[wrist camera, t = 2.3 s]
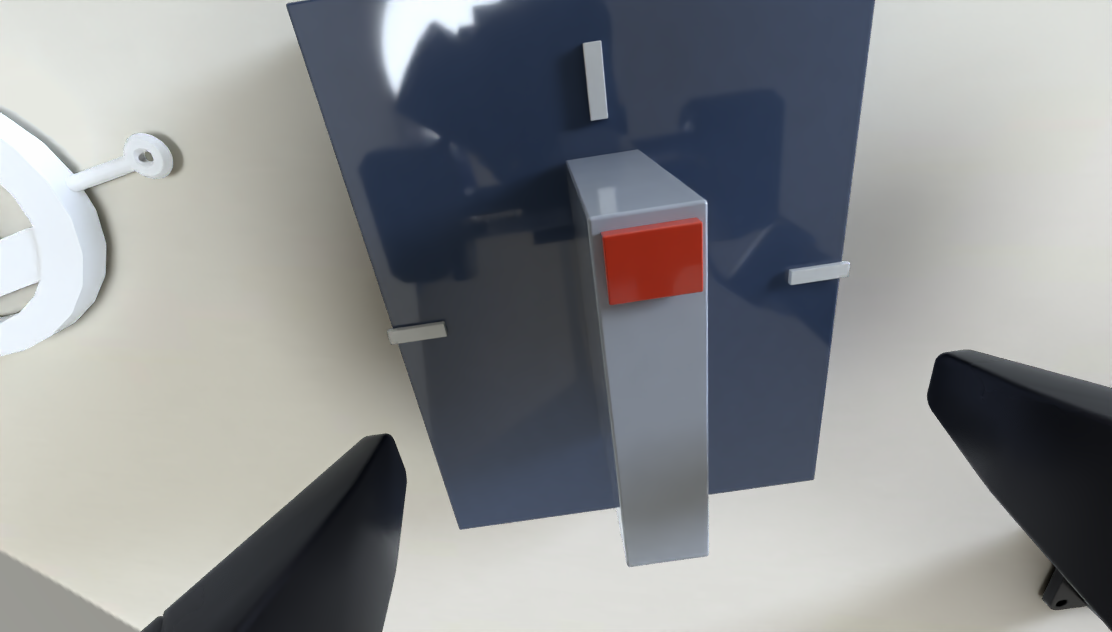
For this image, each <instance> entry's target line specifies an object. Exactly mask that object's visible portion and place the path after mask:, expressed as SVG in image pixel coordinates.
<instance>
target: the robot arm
mask: <svg viewBox="0 0 1112 632" xmlns="http://www.w3.org/2000/svg"><path fill="white" fill-rule="evenodd" d="M927 400H928V404H929V406H930V408H931V410H932V412H933V413H934V414H935V416H936V417H937V419H938V420H939V421H940V423H941V424H942V426H943V427H944V428H945V430H946V431H947V433H948V434H949V435H950V437H951V438H952V440H953V441H954V442H955V444H956V445H957V447H958V448H959V449H960V451H961V452H962V453H963V455H964V456H965V458H966V459H967V460H968V462H969V463H970V465H971V466H972V467H973V469H974V470H975V472H976V473H977V474H978V476H979V477H980V478H981V480H982V481H983V482H984V484H985V485H986V486H987V488H988V489H989V490H990V492H991V493H992V494H993V495H994V496H995V498H996V499H997V500H998V501H999V502H1000V504H1001V505H1002V506H1003V507H1004V508H1005V509H1006V511H1007V512H1008V513H1009V514H1010V515H1011V516H1012V517H1013V519H1014V520H1015V521H1016V522H1017V523H1018V524H1019V526H1020V527H1021V528H1022V529H1023V530H1024V531H1025V532H1026V534H1027V535H1028V536H1029V537H1030V538H1031V539H1032V540H1033V542H1034V543H1035V544H1036V545H1037V546H1038V547H1039V549H1040V550H1041V551H1042V552H1043V553H1044V554H1045V555H1046V557H1047V558H1048V559H1049V560H1050V561H1051V562H1052V564H1053V565H1054V566H1055V567H1056V569H1055V571H1054V573H1053V575H1052V577H1051V579H1050V582H1049V584H1048V586H1047V588H1046V590H1045V592H1044V594H1043V596H1042V600H1043V601H1044V602H1045V603H1046V604H1047V605H1048V606H1049V607H1050V608H1051V609H1053V610H1061V609H1069V608H1076V607H1083V606H1088V607H1089V608H1090V609H1091V610H1092V611H1093V612H1094V613H1095V614H1096V615H1097V616H1098V617H1099V618H1100V619H1101V620H1102V621H1103V622H1104V623H1105V625H1106V626H1107V627H1108V628H1109V629H1110V630H1111V631H1112V388H1110V387H1106V386H1103V385H1099V384H1095V383H1092V382H1088V381H1084V380H1081V379H1077V378H1073V377H1070V376H1066V375H1062V374H1058V373H1055V372H1051V371H1047V370H1044V369H1040V368H1036V367H1033V366H1029V365H1025V364H1022V363H1018V362H1014V361H1010V360H1007V359H1003V358H999V357H996V356H992V355H988V354H985V353H981V352H977V351H973V350H958V351H951V352H945V353H942V354H940V355H939V356H938V357H937V358H936V360H935V363H934V367H933V372H932V376H931V380H930V384H929V388H928V393H927ZM406 484H407V478H406V471H405V468H404V465H403V462H402V460H401V457H400V454H399V452H398V449H397V446H396V444H395V441H394V439H393V437H392V436H391V435H389V434H386V433H385V434H378V435H371V436H366V437H364V438H363V439H361V440H360V441H359V442H358V443H357V444H356V445H354V446H353V447H352V448H351V449H350V450H349V451H348V452H346V453H345V454H344V455H343V456H342V457H341V458H340V459H338V460H337V461H336V462H335V463H334V464H333V465H332V466H330V467H329V468H328V469H327V470H326V471H325V472H323V473H322V474H321V475H320V476H319V477H318V478H317V479H315V480H314V481H313V482H312V483H311V484H310V485H309V486H307V487H306V488H305V489H304V490H303V491H302V492H301V493H299V494H298V495H297V496H296V497H295V498H294V499H293V500H291V501H290V502H289V503H288V504H287V505H286V506H285V507H283V508H282V509H281V510H280V511H279V512H278V513H276V514H275V515H274V516H273V517H272V518H271V519H270V520H268V521H267V522H266V523H265V524H264V525H263V526H262V527H260V528H259V529H258V530H257V531H256V532H255V533H254V534H252V535H251V536H250V537H249V538H248V539H247V540H245V541H244V542H243V543H242V544H241V545H240V546H239V547H237V548H236V549H235V550H234V551H233V552H232V553H231V554H229V555H228V556H227V557H226V558H225V559H224V560H223V561H221V562H220V563H219V564H218V565H217V566H216V567H214V568H213V569H212V570H211V571H210V572H209V573H208V574H206V575H205V576H204V577H203V578H202V579H201V580H200V581H198V582H197V583H196V584H195V585H194V586H193V587H192V588H190V589H189V590H188V591H187V592H186V593H185V594H183V595H182V596H181V597H180V598H179V599H178V600H177V601H175V602H174V603H173V604H172V605H171V606H170V607H169V608H167V609H166V610H165V611H164V614H163V616H159V617H157V618H156V619H155V620H153V621H152V622H151V623H150V624H149V625H148V626H147V627H146V628H144V629H143V630H142V631H141V632H382V630H383V626H384V621H385V617H386V613H387V609H388V604H389V600H390V596H391V591H392V587H393V582H394V577H395V573H396V566H397V559H398V551H399V543H400V534H401V526H402V518H403V509H404V501H405V493H406Z"/></svg>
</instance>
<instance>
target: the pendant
mask: <svg viewBox="0 0 1112 632" xmlns="http://www.w3.org/2000/svg"><path fill="white" fill-rule="evenodd" d="M146 151H148V152H150V153H151V154H152V156H153V161H151V162H149V161H148V160H147V159H146V157H145V155H144V152H146ZM172 168H173V156H172V154H171V152H170V150H169V148H168V147H167V146H166V145H165V144H164V143H163V142H162V141H160V140H159V139H157V138H156V137H154V136H152V135H149V134H145V133H137V134H133V135H131V136H130V137H129V138H127V140H126V143H125V145H124V156H122V157H119V158H116V159H113V160H111V161H108V162H105V163H103V164H100V165H97V166H94V167H92V168H89V169H86V170H84V171H81V172H78V173H75V174H73V173H72V172H71V171H70V170H69V169H68V168H67V167H66V166H65V165H64V164H63V163H62V162H61V160H60V159H59V158H58V157H57V156H56V155H55V154H54V153H53V152H52V151H51V150H50V149H49V148H48V147H47V146H46V145H45V144H44V143H43V142H42V141H41V140H39V139H38V138H36V137H35V136H33V135H32V134H30V133H29V132H28V131H26V130H25V129H23V128H22V127H20V126H19V125H18V124H16V123H15V122H13V121H12V120H10V119H9V118H8V117H6V116H5V115H3V114H2V113H0V184H1V185H2V186H3V187H4V188H5V189H6V190H7V191H8V192H9V193H10V194H11V195H12V196H13V197H14V198H15V200H16V201H17V203H18V204H19V206H20V207H21V209H22V210H23V212H24V213H25V215H26V216H27V217H28V219H29V220H30V222H31V223H32V227H30V228H27V229H25V230H22V231H20V232H17V233H15V234H12V235H10V236H7V237H5V238H2V239H0V296H3V295H5V294H8V293H10V292H13V291H16V290H18V289H21V288H23V287H26V286H29V285H31V284H34V283H37V282H39V284H38V287H37V290H36V293H35V295H34V297H33V298H32V299H31V300H30V301H29V303H28V304H27V305H26V306H25V307H24V308H23V309H22V310H21V312H20V313H17V314H13V315H9V316H5V317H0V356H3V355H7V354H11V353H16V352H20V351H24V350H26V349H28V348H29V347H31V346H33V345H35V344H37V343H39V342H41V341H42V340H44V339H46V338H48V337H50V336H52V335H54V334H55V333H57V332H59V331H61V330H62V329H64V328H66V327H68V326H70V325H71V324H73V323H75V322H76V321H77V320H78V319H79V318H80V317H81V316H82V314H83V313H84V312H85V311H86V310H87V309H88V308H89V307H90V306H91V305H92V304H93V303H94V302H95V300H96V297H97V295H98V292H99V290H100V287H101V285H102V283H103V280H104V278H105V275H106V241H105V238H104V234H103V231H102V228H101V224H100V221H99V218H98V214H97V211H96V209H95V207H94V206H93V204H92V202H91V201H90V199H89V198H88V196H87V194H86V193H85V191H84V190H85V189H87V188H90V187H93V186H96V185H98V184H101V183H104V182H107V181H109V180H112V179H115V178H118V177H120V176H123V175H126V174H129V173H131V172H134V171H136V172H138V173H140V174H141V175H143V176H145V177H149V178H153V179H159V178H164V177H166V176H167V175H169V174H170V172H171V170H172Z"/></svg>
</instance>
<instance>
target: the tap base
mask: <svg viewBox="0 0 1112 632" xmlns="http://www.w3.org/2000/svg"><path fill="white" fill-rule="evenodd" d="M874 4H875V0H303V1H297V2H291V3H287V4H286V7H287V10H288V13H289V16H290V19H291V22H292V25H293V28H294V31H295V34H296V37H297V40H298V43H299V46H300V49H301V52H302V55H303V58H304V61H305V64H306V67H307V70H308V73H309V76H310V79H311V82H312V85H313V88H314V91H315V94H316V98H317V101H318V104H319V107H320V110H321V113H322V116H323V119H324V122H325V125H326V128H327V131H328V134H329V137H330V140H331V143H332V146H333V149H334V152H335V155H336V158H337V161H338V164H339V167H340V170H341V173H342V176H343V179H344V182H345V185H346V188H347V191H348V194H349V197H350V200H351V203H352V206H353V209H354V212H355V215H356V218H357V221H358V224H359V227H360V230H361V233H362V236H363V239H364V242H365V245H366V248H367V251H368V254H369V257H370V261H371V264H372V267H373V270H374V273H375V276H376V279H377V282H378V285H379V288H380V291H381V294H382V297H383V300H384V303H385V306H386V309H387V312H388V315H389V318H390V321H391V324H392V327H393V329H389V330H388V331H387V334H388V337H389V340H390V343H391V345H392V344H398V345H399V348H400V351H401V354H402V357H403V360H404V363H405V366H406V369H407V372H408V375H409V378H410V381H411V384H412V387H413V390H414V393H415V396H416V399H417V402H418V405H419V408H420V411H421V414H422V417H423V420H424V424H425V427H426V430H427V433H428V436H429V439H430V442H431V445H432V448H433V451H434V454H435V457H436V460H437V463H438V466H439V469H440V472H441V475H442V478H443V481H444V484H445V487H446V490H447V493H448V496H449V499H450V502H451V505H452V508H453V511H454V514H455V517H456V520H457V523H458V526H459V529H461V530H462V529H469V528H476V527H483V526H490V525H497V524H504V523H511V522H518V521H525V520H533V519H540V518H547V517H554V516H561V515H568V514H575V513H582V512H589V511H596V510H604V509H611V508H616V507H615V502H614V497H613V492H612V487H611V482H610V476H609V471H608V466H607V461H606V456H605V451H604V446H603V441H602V436H601V431H600V426H599V421H598V413H597V405H596V397H595V390H594V382H593V374H592V367H591V359H590V351H589V343H588V336H587V328H586V320H585V313H584V305H583V297H582V289H581V282H580V274H579V266H578V259H577V251H576V243H575V235H574V228H573V220H572V212H571V205H570V197H569V189H568V181H567V174H566V166H565V162H566V161H567V160H573V159H579V158H586V157H592V156H598V155H605V154H611V153H618V152H624V151H631V150H637V149H638V150H640V151H642V152H643V153H644V154H646V155H647V156H648V157H650V158H651V159H652V160H654V161H655V162H656V163H658V164H659V165H660V166H662V167H663V168H664V169H666V170H667V171H668V172H670V173H671V174H672V175H674V176H675V177H676V178H678V179H679V180H680V181H682V182H683V183H684V184H686V185H687V186H688V187H690V188H691V189H692V190H694V191H695V192H696V193H698V194H699V195H700V196H702V197H703V198H704V199H706V201H707V203H708V495H710V494H717V493H724V492H731V491H738V490H745V489H753V488H760V487H767V486H774V485H781V484H788V483H795V482H802V481H809V480H814V475H815V467H816V460H817V452H818V444H819V436H820V428H821V420H822V412H823V405H824V397H825V389H826V381H827V373H828V365H829V357H830V350H831V342H832V334H833V326H834V318H835V310H836V303H837V295H838V287H839V279H840V278H842V277H848V276H849V270H850V263H849V262H848V261H843V262H842V255H843V248H844V240H845V232H846V224H847V216H848V208H849V200H850V193H851V185H852V177H853V169H854V161H855V153H856V146H857V138H858V130H859V122H860V114H861V106H862V98H863V91H864V83H865V75H866V67H867V59H868V51H869V44H870V36H871V28H872V20H873V12H874Z"/></svg>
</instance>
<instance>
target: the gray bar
mask: <svg viewBox="0 0 1112 632" xmlns="http://www.w3.org/2000/svg"><path fill="white" fill-rule="evenodd" d="M565 166H566V174H567V181H568V189H569V197H570V205H571V212H572V220H573V228H574V235H575V243H576V251H577V259H578V266H579V274H580V282H581V289H582V297H583V305H584V313H585V320H586V328H587V336H588V343H589V351H590V359H591V367H592V374H593V382H594V390H595V397H596V405H597V413H598V421H599V426H600V431H601V436H602V441H603V446H604V451H605V456H606V461H607V466H608V471H609V476H610V482H611V487H612V492H613V497H614V502H615V507H616V512H617V517H618V522H619V527H620V532H621V537H622V543H623V548H624V553H625V558H626V563H627V565H628V567H633V566H641V565H648V564H655V563H662V562H669V561H677V560H684V559H691V558H698V557H706V556H708V554H709V505H708V203H707V201H706V199H704V198H703V197H702V196H700V195H699V194H698V193H696V192H695V191H694V190H692V189H691V188H690V187H688V186H687V185H686V184H684V183H683V182H682V181H680V180H679V179H678V178H676V177H675V176H674V175H672V174H671V173H670V172H668V171H667V170H666V169H664V168H663V167H662V166H660V165H659V164H658V163H656V162H655V161H654V160H652V159H651V158H650V157H648V156H647V155H646V154H644V153H643V152H642V151H640V150H638V149H637V150H631V151H624V152H618V153H611V154H605V155H598V156H592V157H586V158H579V159H573V160H567V161H566V162H565Z"/></svg>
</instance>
